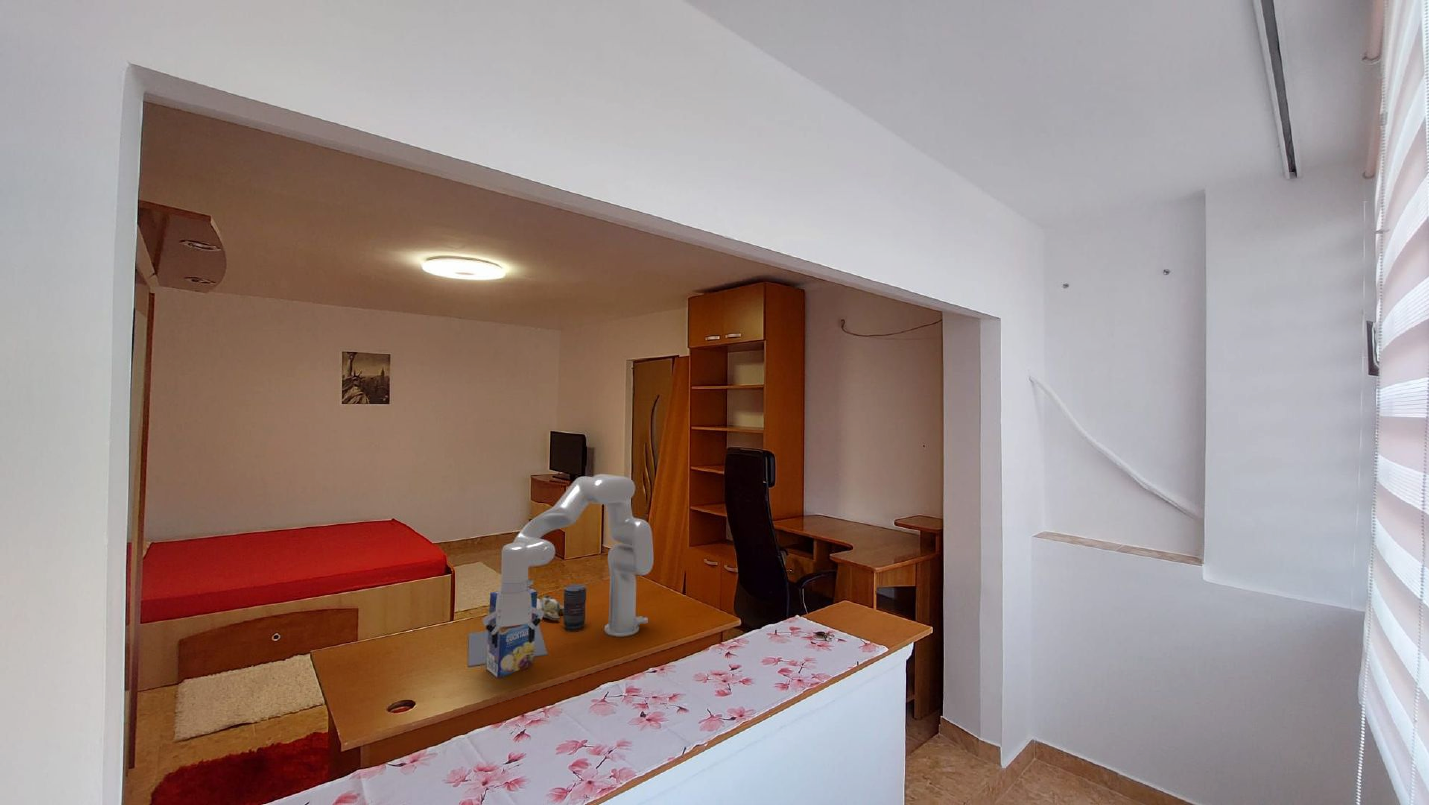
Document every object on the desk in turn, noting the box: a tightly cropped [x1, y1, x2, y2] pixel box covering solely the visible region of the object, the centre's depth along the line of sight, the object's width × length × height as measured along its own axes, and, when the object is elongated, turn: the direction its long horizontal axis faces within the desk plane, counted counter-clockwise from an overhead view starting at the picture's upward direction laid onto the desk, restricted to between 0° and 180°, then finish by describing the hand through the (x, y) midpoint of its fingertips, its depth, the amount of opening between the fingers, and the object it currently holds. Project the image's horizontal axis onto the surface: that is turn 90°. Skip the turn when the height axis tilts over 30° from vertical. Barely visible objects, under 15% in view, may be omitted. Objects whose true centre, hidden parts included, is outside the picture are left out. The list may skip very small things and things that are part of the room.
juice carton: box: [485, 586, 538, 679], centre depth 177 cm, size 12×8×24 cm, turn 139°
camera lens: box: [562, 584, 587, 632], centre depth 209 cm, size 8×8×15 cm
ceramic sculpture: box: [536, 595, 564, 621], centre depth 218 cm, size 11×9×15 cm
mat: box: [467, 623, 548, 668], centre depth 194 cm, size 24×26×1 cm
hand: (513, 643), depth 167 cm, fingers open, 9 cm apart
